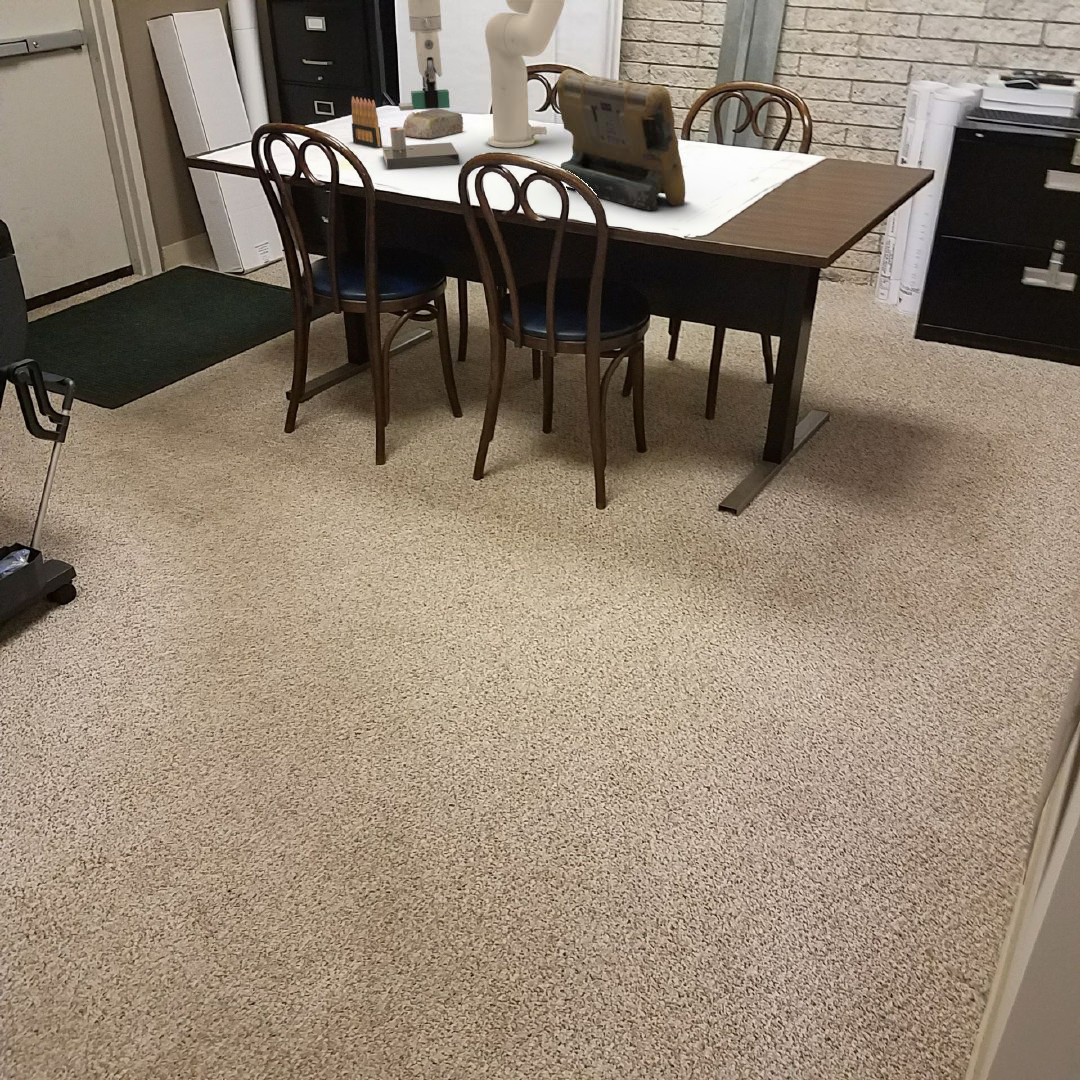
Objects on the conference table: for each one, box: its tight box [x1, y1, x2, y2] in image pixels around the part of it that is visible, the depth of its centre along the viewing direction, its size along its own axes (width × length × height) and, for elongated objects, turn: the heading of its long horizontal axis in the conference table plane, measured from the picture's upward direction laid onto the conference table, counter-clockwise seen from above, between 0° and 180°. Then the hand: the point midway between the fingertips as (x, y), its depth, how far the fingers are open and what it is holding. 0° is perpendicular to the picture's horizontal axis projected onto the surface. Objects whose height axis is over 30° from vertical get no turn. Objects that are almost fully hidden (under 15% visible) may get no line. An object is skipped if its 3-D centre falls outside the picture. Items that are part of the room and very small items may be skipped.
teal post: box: [398, 89, 451, 112], centre depth 261 cm, size 4×12×4 cm, turn 101°
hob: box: [381, 141, 460, 170], centre depth 271 cm, size 18×14×3 cm
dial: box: [389, 126, 407, 151], centre depth 270 cm, size 4×4×5 cm
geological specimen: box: [402, 108, 464, 140], centre depth 298 cm, size 11×6×15 cm
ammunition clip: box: [351, 95, 383, 149], centre depth 285 cm, size 11×2×12 cm, turn 45°
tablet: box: [556, 68, 686, 212], centre depth 232 cm, size 33×14×25 cm, turn 44°
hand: (431, 105), depth 262 cm, fingers closed on teal post, 3 cm apart
